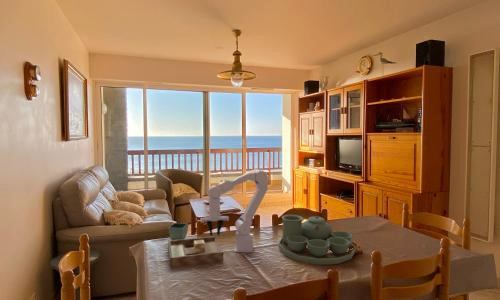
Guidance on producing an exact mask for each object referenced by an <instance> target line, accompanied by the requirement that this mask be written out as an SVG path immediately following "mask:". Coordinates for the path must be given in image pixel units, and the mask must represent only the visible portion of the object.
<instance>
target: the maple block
mask: <svg viewBox="0 0 500 300" xmlns="http://www.w3.org/2000/svg"><path fill="white" fill-rule="evenodd" d="M194 250H195V252H199V251H205V242H204V240H196V241H194Z"/></svg>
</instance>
